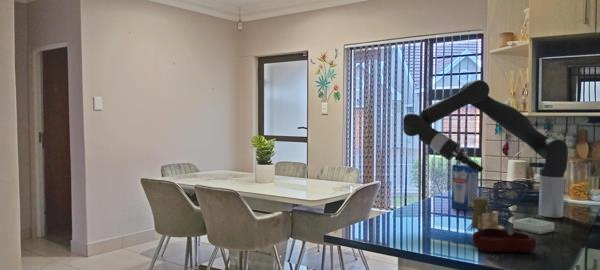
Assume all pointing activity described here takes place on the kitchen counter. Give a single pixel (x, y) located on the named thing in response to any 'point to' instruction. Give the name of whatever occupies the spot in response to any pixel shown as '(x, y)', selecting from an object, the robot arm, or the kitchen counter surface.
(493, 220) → the bracket
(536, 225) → the tray
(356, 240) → the kitchen counter surface
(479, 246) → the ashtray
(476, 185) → the milk carton
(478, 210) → the cork
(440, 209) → the kitchen counter surface
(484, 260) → the kitchen counter surface
